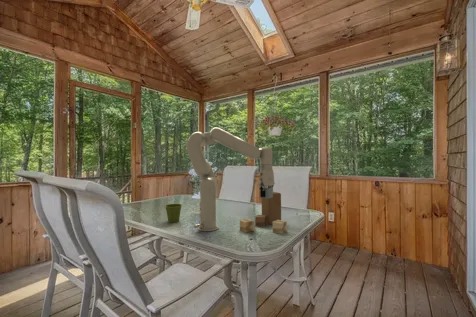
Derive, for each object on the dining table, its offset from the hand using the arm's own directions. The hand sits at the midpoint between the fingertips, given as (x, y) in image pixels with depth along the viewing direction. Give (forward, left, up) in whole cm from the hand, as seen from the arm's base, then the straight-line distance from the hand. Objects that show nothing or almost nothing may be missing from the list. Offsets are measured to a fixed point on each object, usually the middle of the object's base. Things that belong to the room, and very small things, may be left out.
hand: (266, 196), depth 145 cm
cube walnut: (+3, +7, -20) cm, 21 cm away
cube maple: (-1, -10, -20) cm, 22 cm away
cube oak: (-12, +6, -20) cm, 24 cm away
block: (+13, +6, -20) cm, 25 cm away
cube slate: (0, 0, -1) cm, 1 cm away
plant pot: (-30, +58, -20) cm, 68 cm away
